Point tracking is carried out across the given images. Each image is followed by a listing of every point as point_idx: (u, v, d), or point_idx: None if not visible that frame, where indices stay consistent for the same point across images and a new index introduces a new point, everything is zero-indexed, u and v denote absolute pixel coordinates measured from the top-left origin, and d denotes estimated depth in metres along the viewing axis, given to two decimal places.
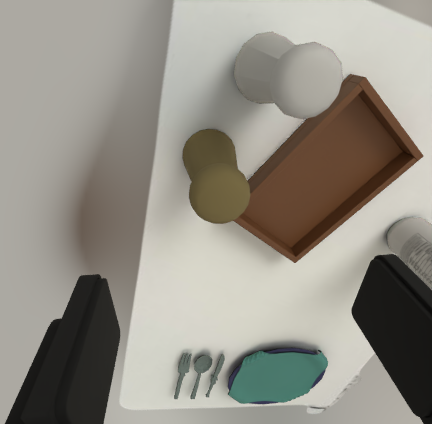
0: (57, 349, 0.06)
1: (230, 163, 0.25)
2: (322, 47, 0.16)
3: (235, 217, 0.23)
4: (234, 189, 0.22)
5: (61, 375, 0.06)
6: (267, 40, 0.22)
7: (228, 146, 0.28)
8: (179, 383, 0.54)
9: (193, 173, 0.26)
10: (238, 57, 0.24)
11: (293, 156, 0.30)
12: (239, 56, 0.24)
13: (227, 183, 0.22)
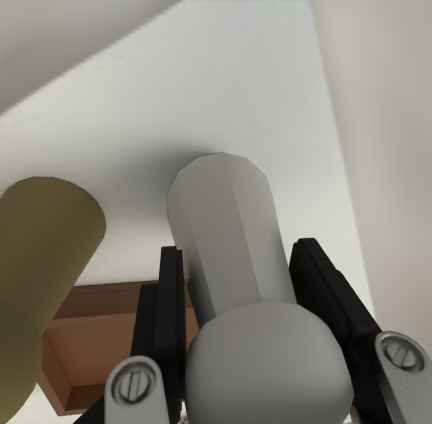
0: (164, 300, 0.08)
1: (48, 303, 0.12)
2: (349, 386, 0.06)
3: None
4: None
5: (175, 319, 0.07)
6: (256, 193, 0.12)
7: (85, 247, 0.15)
8: None
9: None
10: (202, 163, 0.13)
11: None
12: (205, 162, 0.13)
13: None
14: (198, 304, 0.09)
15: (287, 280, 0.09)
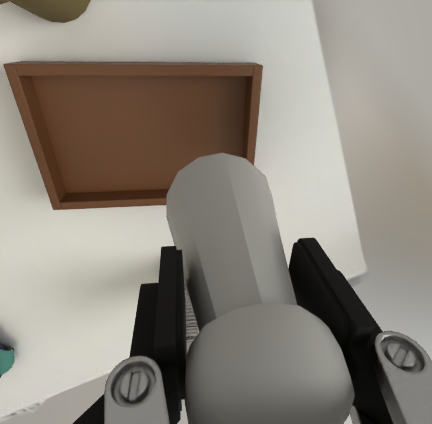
0: (164, 300, 0.08)
1: None
2: (350, 387, 0.06)
3: None
4: None
5: (175, 319, 0.07)
6: (255, 194, 0.12)
7: None
8: None
9: None
10: (201, 163, 0.13)
11: (142, 73, 0.22)
12: (204, 163, 0.13)
13: None
14: (198, 305, 0.09)
15: (287, 281, 0.09)
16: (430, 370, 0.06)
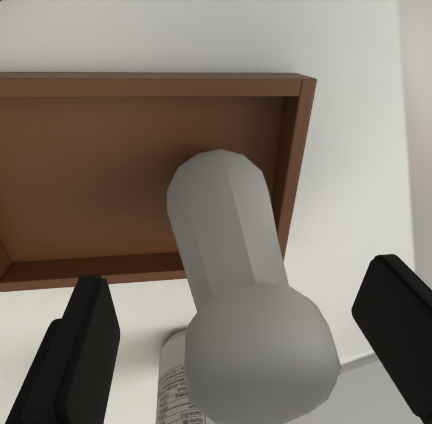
0: (57, 349, 0.06)
1: None
2: (335, 358, 0.07)
3: None
4: None
5: (61, 376, 0.06)
6: (252, 187, 0.13)
7: None
8: None
9: None
10: (200, 159, 0.14)
11: (114, 92, 0.13)
12: (203, 158, 0.14)
13: None
14: (197, 290, 0.10)
15: (280, 266, 0.10)
16: None
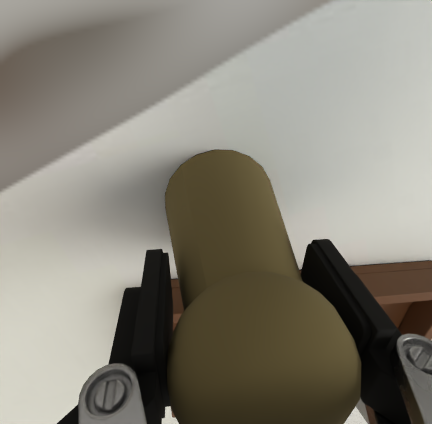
0: (145, 306, 0.07)
1: None
2: None
3: None
4: (339, 420, 0.07)
5: (155, 326, 0.07)
6: None
7: None
8: None
9: (220, 243, 0.09)
10: None
11: None
12: None
13: (347, 401, 0.06)
14: None
15: None
16: None
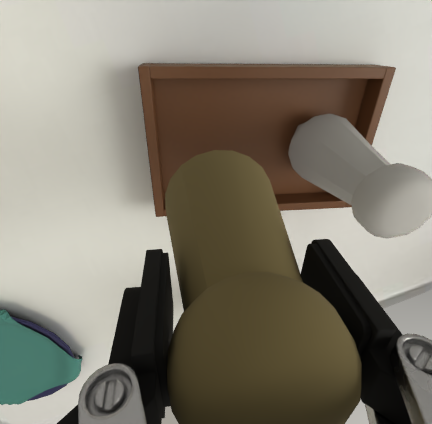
0: (145, 306, 0.07)
1: None
2: None
3: None
4: (339, 421, 0.07)
5: (155, 325, 0.07)
6: (359, 133, 0.21)
7: None
8: None
9: (220, 244, 0.09)
10: (320, 118, 0.22)
11: (274, 75, 0.21)
12: (321, 118, 0.22)
13: (347, 402, 0.06)
14: (345, 181, 0.18)
15: None
16: None
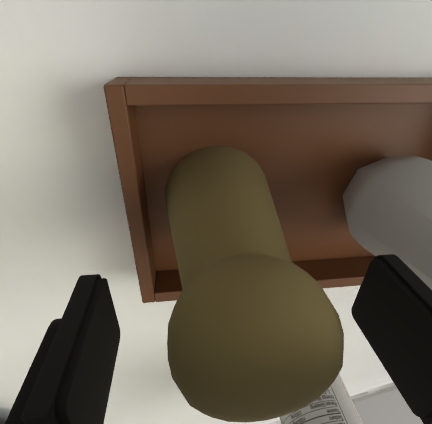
0: (57, 349, 0.06)
1: None
2: None
3: (246, 421, 0.08)
4: (323, 384, 0.07)
5: (61, 375, 0.06)
6: None
7: None
8: None
9: (216, 230, 0.10)
10: (407, 167, 0.14)
11: (339, 99, 0.12)
12: (410, 166, 0.14)
13: (329, 365, 0.07)
14: None
15: None
16: None
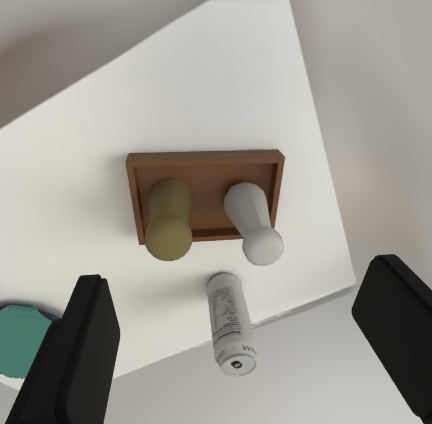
0: (57, 349, 0.06)
1: (187, 223, 0.33)
2: (281, 242, 0.29)
3: (166, 260, 0.30)
4: (182, 246, 0.30)
5: (61, 376, 0.06)
6: (260, 199, 0.34)
7: (190, 207, 0.36)
8: None
9: (161, 209, 0.32)
10: (239, 187, 0.36)
11: (209, 163, 0.34)
12: (240, 187, 0.36)
13: (182, 239, 0.29)
14: (243, 232, 0.32)
15: (269, 224, 0.31)
16: None
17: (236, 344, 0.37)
